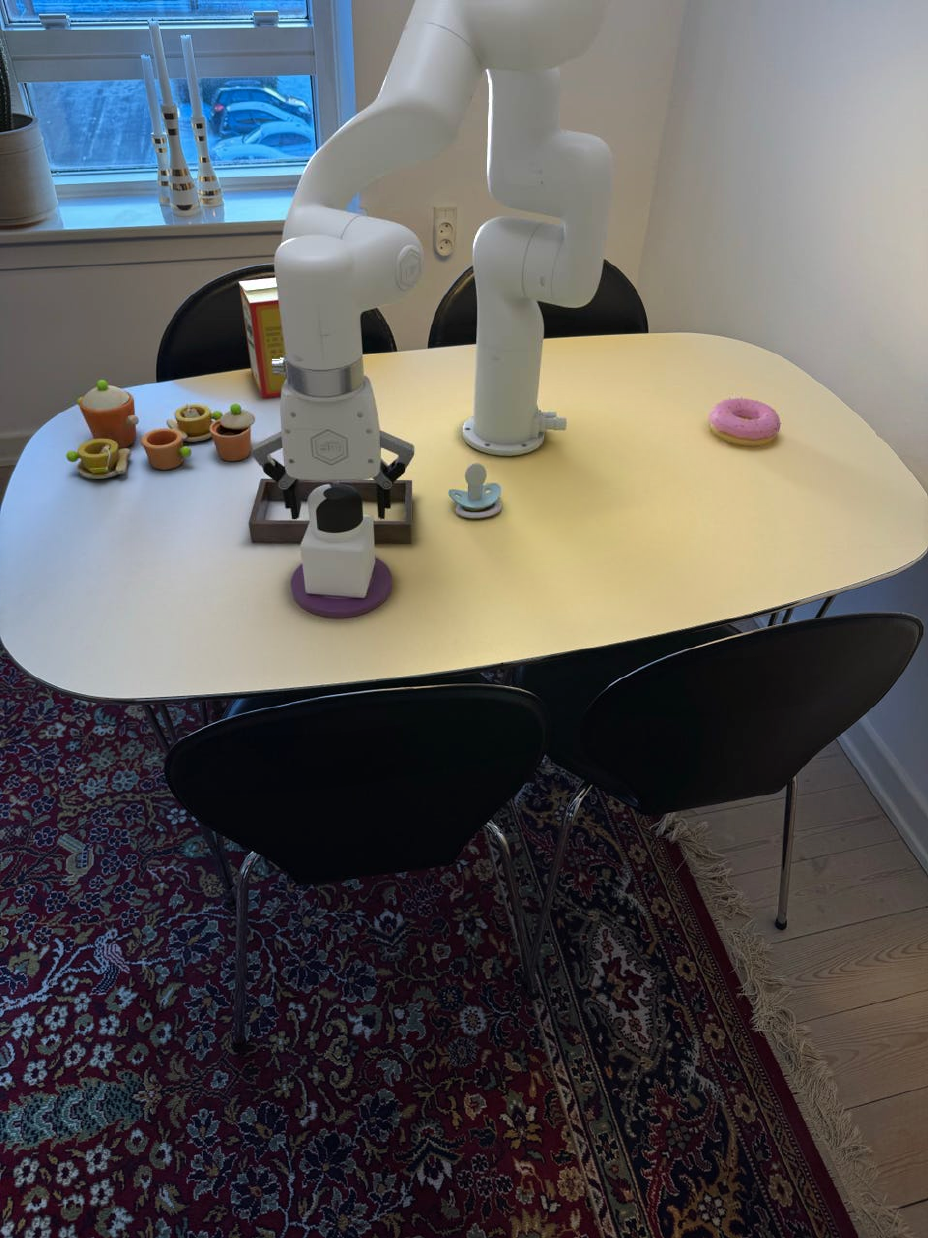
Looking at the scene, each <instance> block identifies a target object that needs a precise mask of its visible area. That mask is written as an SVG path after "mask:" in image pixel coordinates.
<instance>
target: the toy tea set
mask: <svg viewBox="0 0 928 1238" xmlns="http://www.w3.org/2000/svg"><path fill="white" fill-rule="evenodd" d="M76 402H77V406H79V407H78V408H79V409H80V411H81V414H82V416H83V418H84V421H85V423H86V424H87V426H88V429H89V431H90V433H91V435H92V438H93V439H89V440H87V441H84V442H83V443H81V444H80V445H79V446H78V447H77V451H75V450H69V451H67V453H66V455H65V457H66V459H67V461H69V462H71V463H75V462H77V461H78V460H79V462H78V463H77V471H78V473H79V474H80V475H81V476H82V477H84V478H87V479H92V480H93V479H94V480H101V479H109V478H112V477H116V476H117V475H124V474H125V473H126V472H127V467H128V459H130V457H131V455H132V453H131V450H130V449H129V448H127V447H129V446H131V445H132V444H134V443H135V441H137V425H138V424H139V417H138V416H137V415H136V407H135V398H134V397H133V395H132V394H131V392H129V391H127V390H124V389H122V388H120V387H118V386H115V385H110V384H108V382H107V381H106V380H104V379H100V380H98V381H96V387H94V388H92V389H89V390H88V392H87V393H86V394H85V395H84V396H82V397H78V399H77V400H76ZM229 409H230V410H228V411H226V412H225V413H224V414H223V412H221V411H220V410H214V411H213V412H212V409H211V408H210V407H209V406H208V405H205V404H199V403H193V404H188V403H186V404H185V405H183V406H180V407H178V408H177V409H176V410H175V411H174V413H173V416H174V419H173V418H167V419H166V420H165V421H166V425H167V427H164V428H156V429H153V430H150V431H148V432H146V433H145V434H144V435H143V436H142V437H141V441H140V445H141V446H142V447H143V449H144V452H145V454H146V456H147V459H148V461H149V463H150V465H151V467H153V468H154V469H157V470H163V471H165V470H171V469H175V468H178V467H179V466H181V465H182V463H183V462H184V458H190V457H191V455H192V449H191V447H189V446H186V445H185V446H184V442H190V443H191V442H201V441H205V440H208V439H210V438H212V441H213V443H214V447H215V449H216V452H217V454H218V456H219V458H220V459H222V460H224V461H227V462H237V461H242V460H244V459H247V457H248V456H250V454H251V447H252V446H251V443H252V426H253V425H254V424H255V422H256V416H255V415H254V414H253V412H250V411H249V410H246V409H242V407H241V405H240V404H239V403H232V404H231V405H230V408H229Z"/></svg>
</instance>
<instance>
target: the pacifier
mask: <svg viewBox="0 0 928 1238" xmlns="http://www.w3.org/2000/svg"><path fill="white" fill-rule="evenodd" d="M487 477H488V472H487V469H486V467H485V466H484V465H483V464H481V463H479V462H473V463H471V464H469V465H468V466H467V467H466V469H465V472H464V479H465V482H466V484H467V490H462V489H456V488H455V489H454V488H451V489H448V493H447V494H448V496H449V497H450V498H451V499H452V501H454V502H455V503H456V504H458V505H456V507H455V512H456V514H457V515H459V516H460V517H462V518H466V519H484V518H485V519H486V518H489V517H492V516H495V515H496V514H498V513H499V512H501V510H502V508H503V505H502V504H501V502H499V501H498V500H499V499H500V497H501V494H502V487H501V484H499V483H496V482H491V483H486V484H485V482H486V480H487ZM487 491H489V492H487ZM490 506H493V508H490V509H489V510H485V509H486V508H488V507H490ZM481 510H482V511H481ZM483 510H485V511H483ZM476 511H480V512H476Z"/></svg>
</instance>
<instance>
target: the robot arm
mask: <svg viewBox="0 0 928 1238" xmlns="http://www.w3.org/2000/svg"><path fill="white" fill-rule="evenodd" d="M608 10H609V0H415V1H414V3H413V5H412V8H411V10H410V13H409V16H408V18H407V20H406V23H405V26H404V28H403V31H402V34H401V37H400V38H399V42H398V44H397V47H396V50H395V52H394V55H393V57H392V59H391V62H390V65H389V67H388V70H387V73H386V74H385V78H384V80H383V83H382V85H381V88H380V91H379V92H378V95H377V96H376V98H375V99H374V101H373V102H372V103H370V104H369V105H368V106H366V108H364V109H363V110H361V111H359V113H357V114H356V115H354V116H353V117H351V118H350V119H349V120H348V121H347V122H346V123H345V124H343V126H341V127H340V128H339V129H338V130H336V132H335V133H334V134H333V135H331V136H330V137H329V138H328V139H327V140H326V141H325V142H324V143H323V144H322V145H321V146H320V147H319V148H318V149H317V150H316V152H314V154H313V155H312V157H311V158H310V160H309V161H308V163H307V165H306V166H305V168H304V170H303V172H302V174H301V177H300V179H299V182H298V184H297V187H296V189H295V191H294V195H293V198H292V199H291V203H290V205H289V208H288V211H287V213H286V217H285V221H284V225H283V230H282V236H281V244H279V246H278V247H277V249H276V250H275V252H274V253H275V254H274V259H273V266H274V268H273V269H274V276H275V277H274V278H276V285H277V293H278V301H279V309H280V316H281V324H282V332H283V339H284V347H285V354H286V355H284V357H283V358H280V360H278V359H273V360H272V371H273V373H280V374H281V375H285V378H287V379H286V380H285V382H284V384H283V386H282V390H281V396H280V407H279V408H280V412H279V413H280V431H279V432H277V433H274V434H273V435H271V436H268V437H267V438H265V439H263V440H260V441H259V442H256V443H255V444H253V445H252V448H251V451H250V454H251V456H252V457H253V459H254V460H255V462H257V464H258V465H259V466H260V467H261V468H262V472H263V473H264V474H265V475H266V476H267V477H269V478H270V479H273V480H275V481H276V482H277V483H278V486H279V487H280V488H281V489H283V495H284V500H283V502H284V508H285V509H287V510H290V516H291V520H298V519H299V518H300V514H301V508H302V501H301V497H300V490H299V482H298V479H301V480H371V479H372V480H375V481H376V482H377V501H376V507H377V518H378V519H379V520H385V519H386V518H385V517H386V509H392V501H391V489H390V488H391V486H392V483H394V482H395V481H396V480H399V479H400V478H401V477H402V476H403V475H404V474H405V473H406V470H407V468H408V466H409V465H410V463H411V461H412V459H414V457H415V445H414V444H412V443H410V442H408V441H406V440H403V439H402V438H399V437H397V436H395V435H392V434H390V433H388V432H386V431H383V430H381V427H380V420H379V414H378V413H379V412H378V407H377V402H376V398H375V393H374V390H373V386H372V383H371V380H370V378H369V377H368V376H367V375H365V373H364V371H365V369H364V357H363V356H364V355H363V339H362V326H361V325H362V324H361V317H362V316H361V315H362V313H364V312H367V311H370V310H373V309H378V308H382V307H385V306H389V305H392V304H395V303H397V302H399V301H402V300H403V299H404V298H406V297H407V296H408V295H409V294H410V293H412V291H414V289H415V288H416V286H417V285H418V283H419V282H420V280H421V277H422V274H423V271H424V267H425V266H424V264H425V255H424V249H423V246H422V243H421V241H420V239H419V238H418V236H417V235H416V234H415V233H414V232H413V231H412V230H411V229H409V228H408V227H406V226H405V225H403V224H400V223H398V222H395V221H391V220H387V219H381V218H378V217H373V216H367V215H365V214H361V213H356V212H352V211H351V212H350V211H346V209H347V208H348V207H349V205H350V204H351V202H352V200H354V198H355V197H356V196H357V194H358V193H360V192H361V191H362V190H363V189H364V188H365V187H366V186H368V185H370V184H371V183H373V182H374V181H376V180H378V179H379V178H382V177H384V176H386V175H389V174H391V173H393V172H394V173H395V172H397V171H399V170H403V169H406V168H409V167H413V166H415V165H418V164H421V163H424V162H427V161H429V160H432V159H435V158H438V157H440V156H442V155H443V154H445V153H447V152H448V151H450V149H451V148H452V147H453V146H454V145H455V144H456V141H457V139H458V136H459V133H460V131H461V128H462V125H463V123H464V120H465V117H466V115H467V112H468V110H469V108H470V105H471V102H472V100H473V98H474V94H475V92H476V90H477V87H478V84H479V82H480V80H481V77H482V76H483V75H482V74H483V73H484V72H485V71H486V74H487V80H488V91H489V93H488V95H489V96H488V98H489V99H488V103H489V105H488V130H487V131H488V132H487V133H488V134H487V162H486V163H487V165H486V166H487V167H486V169H487V170H486V176H487V178H486V179H487V187H488V192H489V193H490V194H489V195H490V197H491V198H492V199H493V200H494V201H495V203H497V204H500V205H501V206H504V207H507V208H511V209H515V210H518V211H523V212H529V213H534V214H537V215H538V214H539V215H543V216H549V217H552V218H553V217H554V218H559V219H560V220H561V222H562V225H560V224H559V225H558V224H555V223H548V222H546V221H541V220H536V219H531V218H525V217H521V216H513V215H512V216H511V215H503V216H502V215H501V216H496V217H493V218H490V219H489V220H487V221H486V222H484V223H483V224H482V225H481V226H480V228H479V229H478V231H477V232H476V235H475V237H474V240H473V245H472V267H473V268H472V269H473V275H474V281H475V290H476V303H477V304H476V305H477V306H476V307H477V310H476V311H477V315H476V317H477V318H476V319H477V320H476V322H477V323H476V342H475V343H476V346H475V368H474V392H473V414H472V415H473V416H470V417H469V418H468V419H467V420H466V421H465V422H464V424H463V426H462V437H463V440H464V441H465V442H466V444H468V445H469V446H470V447H471V448H473V449H475V450H476V451H479V452H481V453H485V454H489V455H494V456H504V457H505V456H506V457H507V456H508V457H510V456H511V457H512V456H520V455H524V454H528V453H531V452H533V451H535V450H536V449H538V448H540V446H541V445H542V444H543V442H544V440H545V433H546V431H566V430H567V417H557V411H542V410H541V409H539V406H538V399H539V397H538V395H539V387H540V376H541V365H542V355H543V345H544V337H545V323H544V318H543V315H542V311H541V308H540V305H539V303H538V302H542V303H544V304H549V305H554V306H558V307H559V306H560V307H563V308H571V309H579V308H582V307H584V306H586V305H588V304H589V303H590V302H591V301H592V300H593V299H594V297H595V296H596V293H597V291H598V289H599V285H600V282H601V278H602V274H603V267H604V262H605V261H604V260H605V253H606V246H607V237H608V228H609V221H610V215H611V205H612V198H613V189H614V180H615V179H614V178H615V167H614V158H613V154H612V151H611V149H610V146H609V145H608V144H607V142H606V141H605V140H603V139H602V138H601V137H599V136H596V135H595V134H591V133H587V132H581V131H574V130H567V129H563V128H562V126H561V124H560V109H561V108H560V107H561V92H562V78H561V77H562V76H561V72H560V67H559V66H561V65H564V64H566V63H568V62H570V61H573V60H575V59H577V58H580V57H581V56H583V55H585V54H586V53H587V52H588V51H589V50H590V49H591V48H592V47H593V46H594V44H595V43H596V41H597V40H598V38H599V37H600V35H601V34H602V31H603V28H604V26H605V23H606V19H607V16H608ZM382 449H383V450H386V451H388V452H390V453H393V454H395V455H396V456H397V457H396V458H395V459H394V460H393V461H392V462H391V463H389V464H387V462H386V461H384V459H383V458H382ZM279 450H282V457H283V464H281V463H280V462H279V461H278V460H276V459H275V458H273V457H272V455H271V454H273V453H275V452H277V451H279Z"/></svg>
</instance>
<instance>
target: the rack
mask: <svg viewBox="0 0 928 1238" xmlns="http://www.w3.org/2000/svg"><path fill="white" fill-rule="evenodd" d="M298 482H299V490H300V497H301V502H302V501H303V502H306V501H307V502H308V497H309V495H310V494H311V493H312V491H313V490H315V489H316V488H318V487H320V486H323V485H326V484H333V483H340V484H346V485H350V486H352V487H354V488H355V489H357V490H358V491H359V492H360V493H361V495H362V502H377V482H376V481H375V480H374V479H364V480H301V479H298ZM390 489H391V502H405V503H404V505H405V507H404V520H373V525H374V544H412V534H413V533H412V532H413V529H412V528H413V526H412V525H413V480H412V479H397V480H396V481H395V482H394V483H392V486H391V488H390ZM269 501H284V495H283V489H281V488H280V487H279V486H278V483H277V482H276V481H275V480H273V479H272V478H260V480H259V484H258V488H257V491H256V495H255V498H254V502H253V505H252V509H251V513H250V517H249V520H248V528H249V533H250V534H249V535H250V542H251V543H255V544H257V543H258V544H260V543H261V544H262V543H265V544H266V543H271V544H272V543H273V544H274V543H275V544H276V543H277V544H278V543H279V544H285V543H286V544H301V543H302V540H303V538H304V535H305V533H306V530H307V528H308V525H309V523H310V519H308V520H307V519H305V520H304V519H303V520H298V519H290V520H289V519H284V520H283V519H265V516H266V512H267V508H268V504H269Z"/></svg>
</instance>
